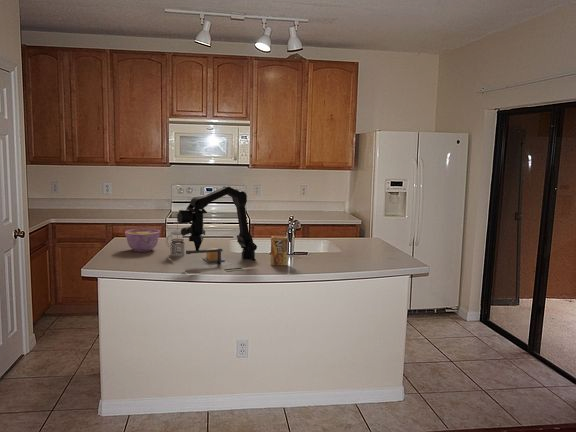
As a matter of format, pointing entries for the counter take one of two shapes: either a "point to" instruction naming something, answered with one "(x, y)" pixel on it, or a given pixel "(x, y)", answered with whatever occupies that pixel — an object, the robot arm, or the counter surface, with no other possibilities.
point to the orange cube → (212, 255)
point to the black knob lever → (207, 251)
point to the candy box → (278, 250)
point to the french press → (173, 244)
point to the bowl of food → (142, 239)
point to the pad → (233, 269)
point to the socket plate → (215, 262)
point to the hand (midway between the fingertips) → (197, 251)
